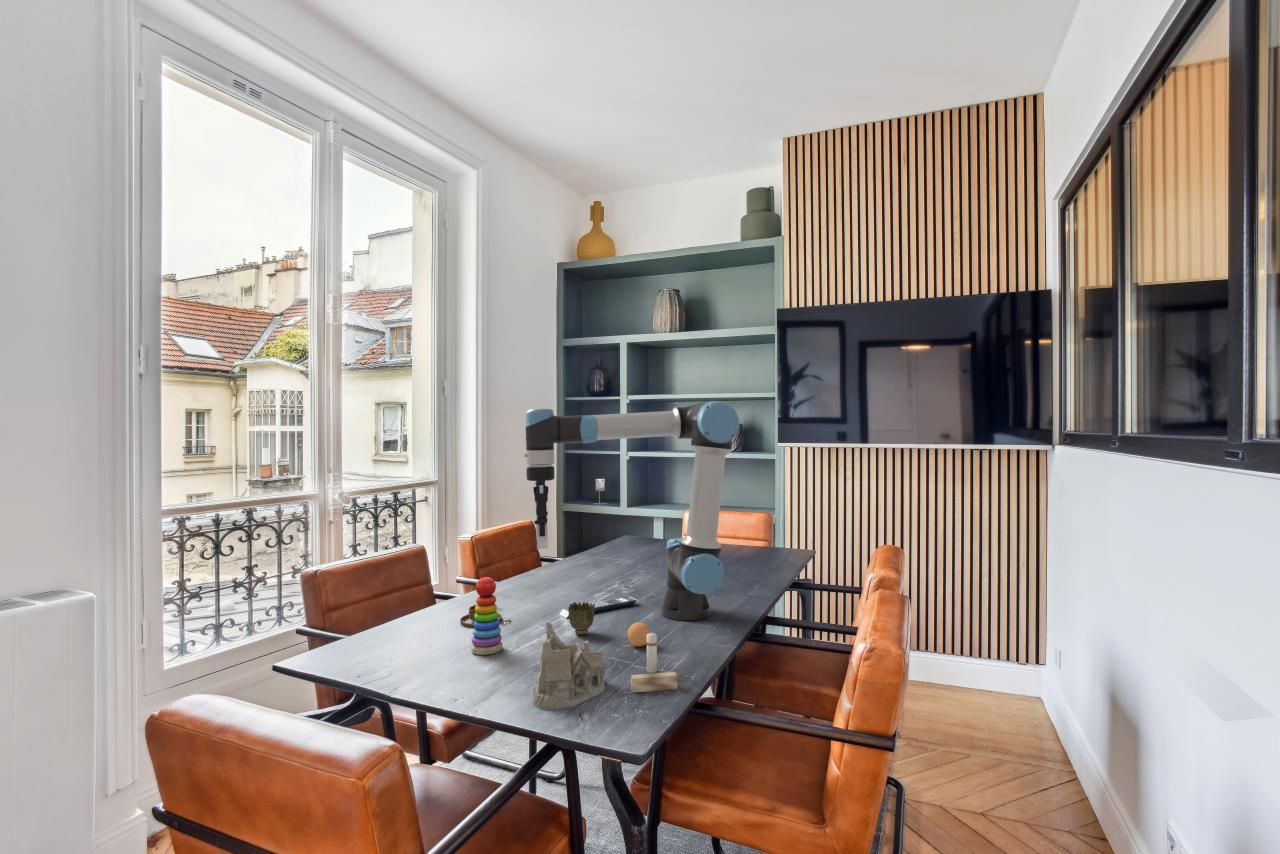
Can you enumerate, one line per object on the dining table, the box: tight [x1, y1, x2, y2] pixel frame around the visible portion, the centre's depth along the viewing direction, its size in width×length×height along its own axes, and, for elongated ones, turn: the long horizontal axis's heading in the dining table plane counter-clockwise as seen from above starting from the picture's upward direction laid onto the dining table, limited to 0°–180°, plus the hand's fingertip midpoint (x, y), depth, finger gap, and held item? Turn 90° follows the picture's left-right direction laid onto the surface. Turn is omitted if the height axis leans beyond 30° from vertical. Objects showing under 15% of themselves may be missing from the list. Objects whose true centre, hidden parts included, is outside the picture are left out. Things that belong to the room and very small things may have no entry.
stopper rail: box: [630, 671, 678, 694], centre depth 138 cm, size 10×2×3 cm, turn 100°
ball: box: [627, 621, 651, 647], centre depth 165 cm, size 6×6×6 cm
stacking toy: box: [470, 576, 504, 656], centre depth 162 cm, size 8×8×19 cm
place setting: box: [459, 604, 512, 629], centre depth 190 cm, size 18×20×6 cm
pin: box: [645, 632, 658, 674], centre depth 148 cm, size 2×2×8 cm
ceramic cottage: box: [532, 621, 606, 711], centre depth 137 cm, size 16×16×15 cm
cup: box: [567, 601, 596, 637], centre depth 175 cm, size 8×7×8 cm
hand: (541, 543), depth 172 cm, fingers open, 13 cm apart
